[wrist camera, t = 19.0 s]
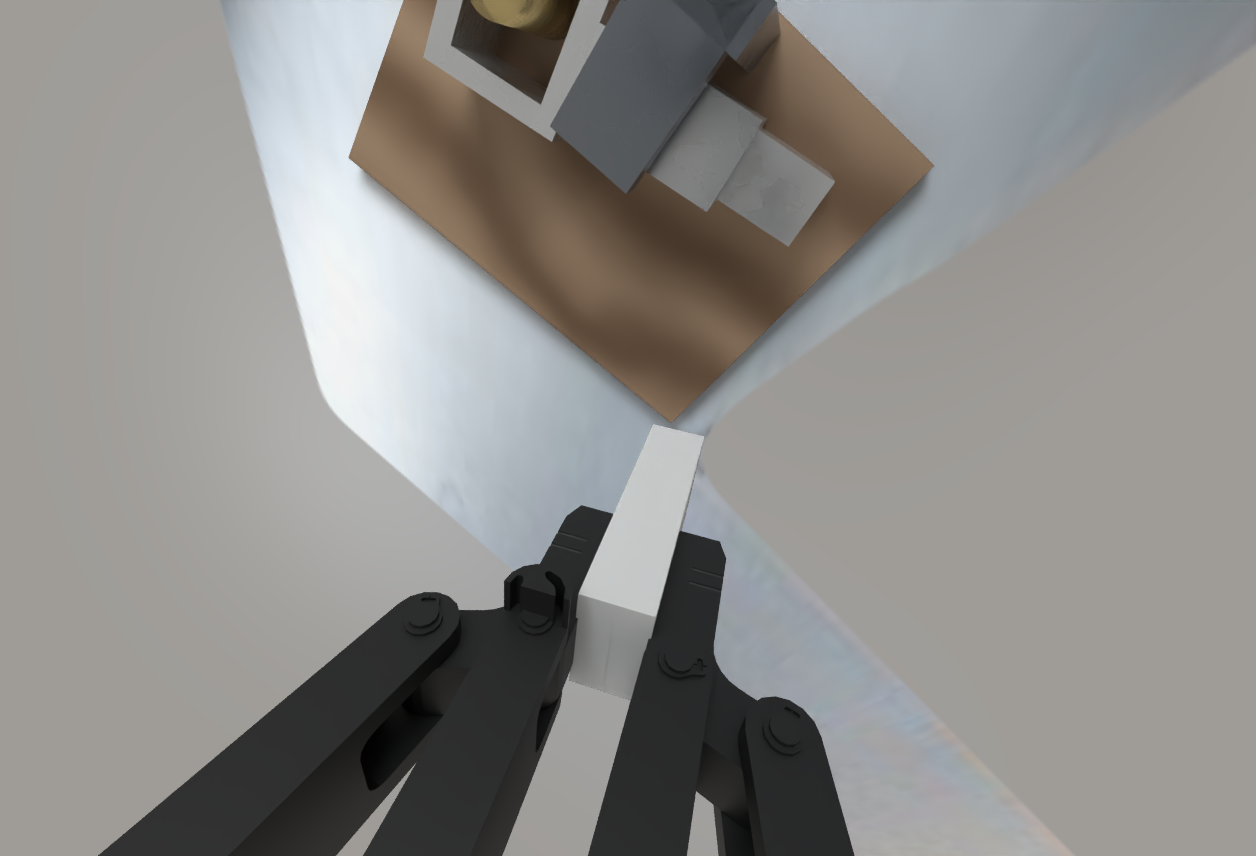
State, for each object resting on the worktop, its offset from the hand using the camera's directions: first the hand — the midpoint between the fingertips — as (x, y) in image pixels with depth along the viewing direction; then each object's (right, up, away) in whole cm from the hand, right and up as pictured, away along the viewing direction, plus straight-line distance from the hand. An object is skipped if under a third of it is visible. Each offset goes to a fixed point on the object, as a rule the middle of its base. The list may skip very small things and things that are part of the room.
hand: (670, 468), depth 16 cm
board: (-2, +16, +14) cm, 22 cm away
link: (0, +18, +11) cm, 21 cm away
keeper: (+2, +19, +12) cm, 22 cm away
